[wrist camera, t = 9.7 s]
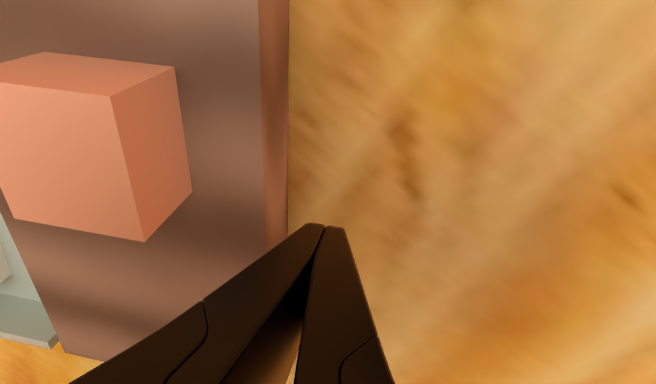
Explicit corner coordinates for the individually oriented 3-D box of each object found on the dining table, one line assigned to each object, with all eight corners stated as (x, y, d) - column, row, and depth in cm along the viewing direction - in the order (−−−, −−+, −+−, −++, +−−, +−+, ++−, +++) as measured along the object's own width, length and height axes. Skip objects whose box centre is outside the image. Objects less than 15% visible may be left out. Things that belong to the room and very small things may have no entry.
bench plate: (286, 350, 23) (270, 399, 20) (101, 311, 25) (64, 352, 22) (288, -51, 12) (256, -53, 10) (-36, -74, 14) (-135, -80, 12)
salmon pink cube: (192, 191, 14) (144, 242, 12) (81, 173, 15) (14, 218, 12) (174, 66, 12) (109, 96, 10) (44, 51, 13) (-49, 75, 10)
